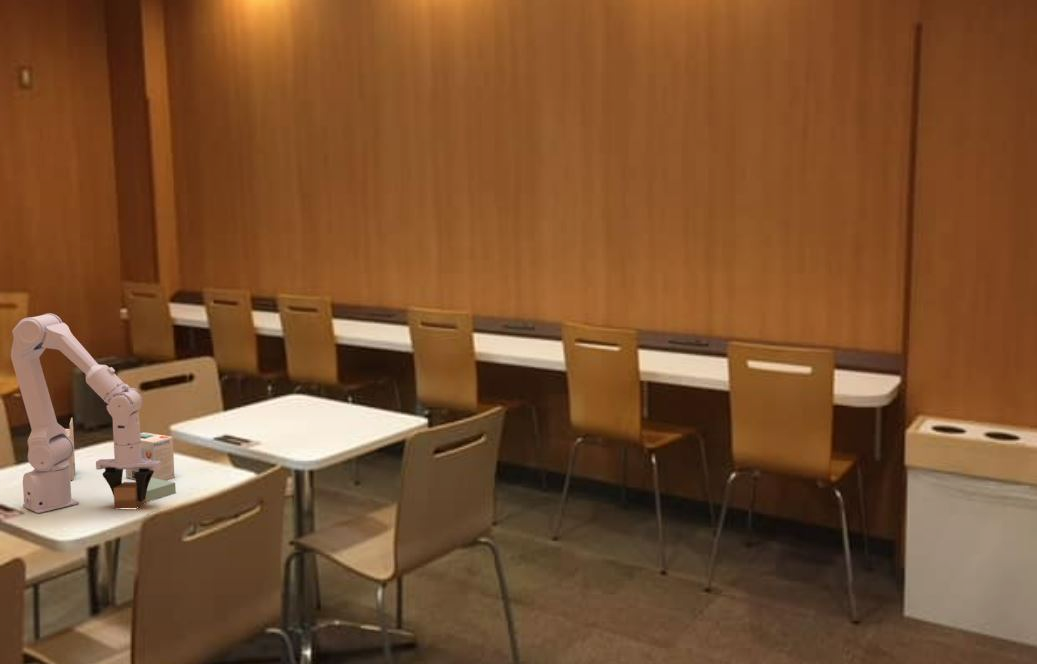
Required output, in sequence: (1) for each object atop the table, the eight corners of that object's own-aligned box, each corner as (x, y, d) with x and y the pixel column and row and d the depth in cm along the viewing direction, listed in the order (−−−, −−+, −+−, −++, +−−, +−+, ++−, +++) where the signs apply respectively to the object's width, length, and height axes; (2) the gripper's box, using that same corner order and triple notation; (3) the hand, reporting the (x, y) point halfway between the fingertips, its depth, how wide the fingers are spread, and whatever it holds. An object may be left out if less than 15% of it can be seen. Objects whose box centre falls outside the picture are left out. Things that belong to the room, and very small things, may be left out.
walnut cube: (135, 510, 216) (134, 488, 215) (114, 509, 217) (113, 488, 216) (146, 503, 221) (145, 482, 220) (125, 502, 221) (124, 481, 221)
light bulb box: (125, 478, 241) (122, 437, 240) (146, 472, 247) (144, 431, 246) (154, 484, 236) (152, 441, 235) (175, 477, 242) (174, 436, 241)
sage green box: (144, 504, 221) (143, 492, 221) (119, 498, 226) (118, 486, 225) (175, 494, 229) (175, 482, 229) (150, 488, 233) (150, 477, 233)
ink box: (55, 474, 245) (51, 418, 243) (76, 472, 247) (72, 416, 245) (52, 482, 237) (48, 425, 235) (74, 480, 239) (70, 423, 237)
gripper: (165, 438, 220) (168, 495, 222) (105, 437, 221) (108, 493, 223) (151, 446, 213) (154, 504, 215) (89, 444, 214) (93, 503, 216)
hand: (130, 499), depth 219 cm, fingers closed on walnut cube, 5 cm apart
